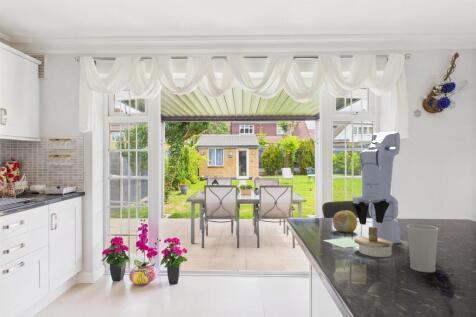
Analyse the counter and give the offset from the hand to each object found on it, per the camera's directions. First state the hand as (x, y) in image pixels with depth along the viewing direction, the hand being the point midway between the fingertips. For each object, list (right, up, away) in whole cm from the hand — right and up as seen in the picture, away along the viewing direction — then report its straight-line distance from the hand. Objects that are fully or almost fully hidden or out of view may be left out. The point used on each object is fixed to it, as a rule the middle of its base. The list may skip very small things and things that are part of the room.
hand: (371, 223), depth 109 cm
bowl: (0, -10, -2) cm, 10 cm away
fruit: (+1, -11, +31) cm, 33 cm away
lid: (0, -6, -2) cm, 6 cm away
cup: (+7, -10, -18) cm, 22 cm away
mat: (-5, -10, +12) cm, 16 cm away
